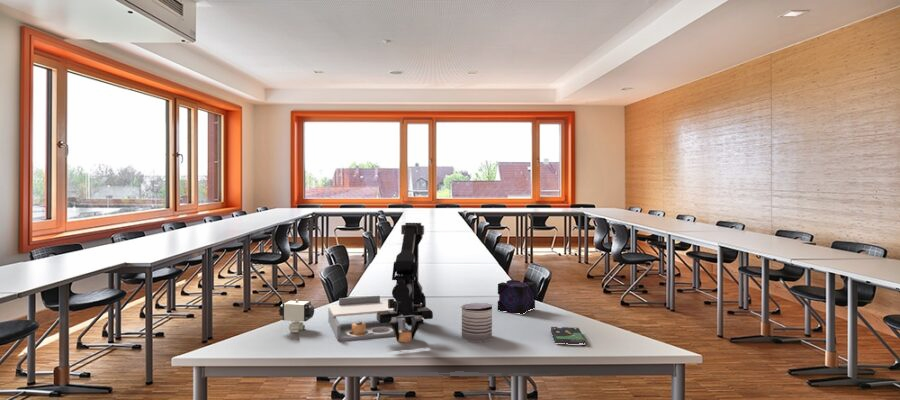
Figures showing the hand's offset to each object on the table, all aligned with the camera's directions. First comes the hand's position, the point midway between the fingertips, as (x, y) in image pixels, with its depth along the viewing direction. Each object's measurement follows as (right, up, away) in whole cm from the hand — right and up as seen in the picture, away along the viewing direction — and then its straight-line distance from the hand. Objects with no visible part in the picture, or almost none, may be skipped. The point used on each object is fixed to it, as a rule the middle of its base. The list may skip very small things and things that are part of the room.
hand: (404, 339), depth 171 cm
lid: (-18, +6, +19) cm, 27 cm away
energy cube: (+45, 0, +46) cm, 64 cm away
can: (+25, -1, +7) cm, 26 cm away
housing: (-16, 0, +14) cm, 21 cm away
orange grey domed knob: (-17, 0, +5) cm, 18 cm away
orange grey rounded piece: (0, -1, 0) cm, 1 cm away
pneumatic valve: (-41, -1, +12) cm, 43 cm away
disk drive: (+58, -2, +6) cm, 58 cm away
